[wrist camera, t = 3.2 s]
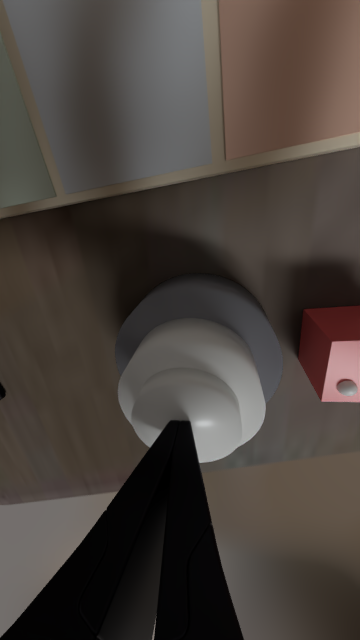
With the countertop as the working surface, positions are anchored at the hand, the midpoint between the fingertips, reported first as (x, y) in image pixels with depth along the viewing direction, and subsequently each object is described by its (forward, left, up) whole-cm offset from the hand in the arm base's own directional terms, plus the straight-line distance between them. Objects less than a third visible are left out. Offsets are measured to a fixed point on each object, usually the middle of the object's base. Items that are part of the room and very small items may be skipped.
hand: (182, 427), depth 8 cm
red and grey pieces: (+3, 0, -7) cm, 7 cm away
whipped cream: (0, 0, -3) cm, 3 cm away
